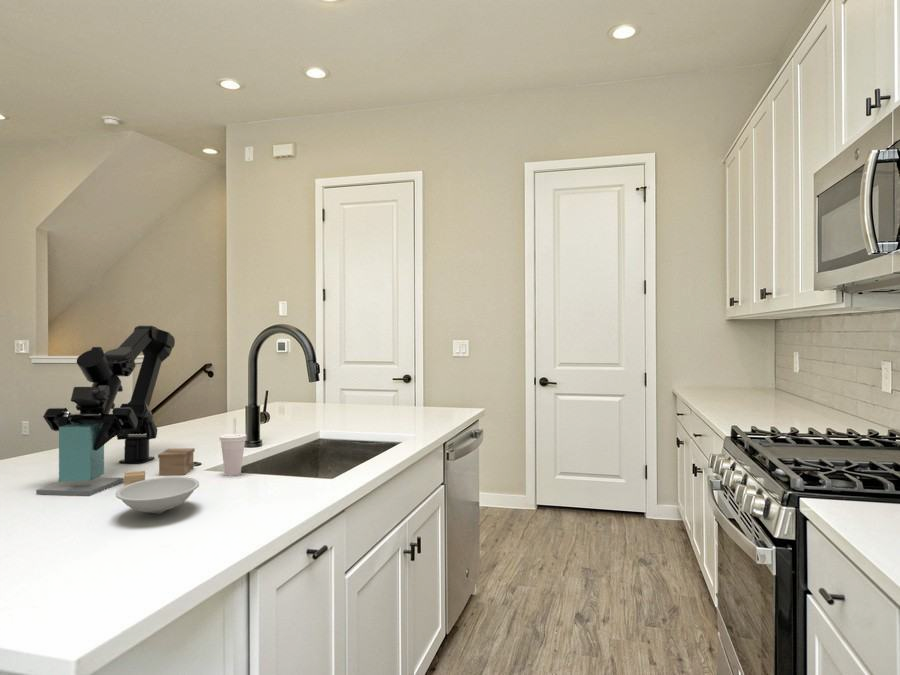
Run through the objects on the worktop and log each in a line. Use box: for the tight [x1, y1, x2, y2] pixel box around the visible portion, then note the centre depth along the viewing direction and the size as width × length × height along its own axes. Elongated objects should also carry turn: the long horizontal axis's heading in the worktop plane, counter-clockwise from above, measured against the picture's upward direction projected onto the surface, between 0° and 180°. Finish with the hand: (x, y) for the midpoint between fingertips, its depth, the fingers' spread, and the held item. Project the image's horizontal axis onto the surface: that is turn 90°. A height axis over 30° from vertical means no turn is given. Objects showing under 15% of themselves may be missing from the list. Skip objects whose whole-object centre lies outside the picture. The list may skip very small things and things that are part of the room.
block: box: [123, 470, 146, 487], centre depth 132 cm, size 4×4×4 cm
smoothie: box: [219, 417, 247, 476], centre depth 148 cm, size 6×6×14 cm
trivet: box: [35, 476, 124, 497], centre depth 134 cm, size 12×12×1 cm
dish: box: [115, 476, 200, 515], centre depth 116 cm, size 18×14×5 cm
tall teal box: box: [58, 422, 105, 482], centre depth 134 cm, size 6×6×12 cm
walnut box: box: [157, 447, 195, 476], centre depth 150 cm, size 7×6×5 cm
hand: (79, 449), depth 132 cm, fingers closed on tall teal box, 6 cm apart
